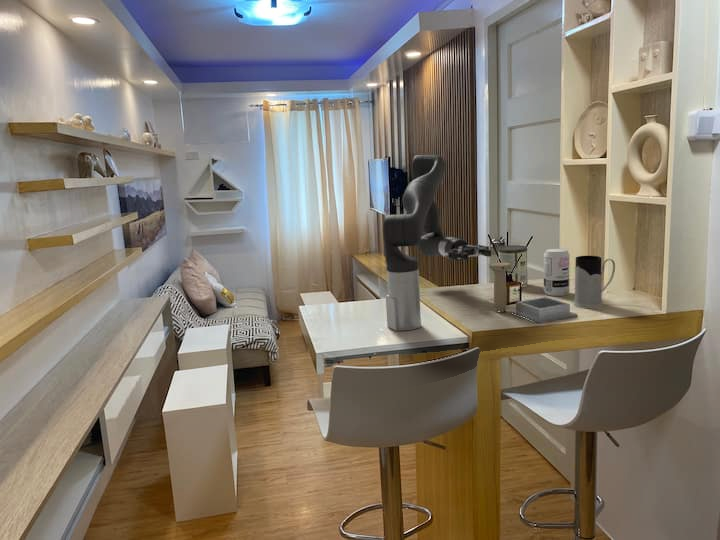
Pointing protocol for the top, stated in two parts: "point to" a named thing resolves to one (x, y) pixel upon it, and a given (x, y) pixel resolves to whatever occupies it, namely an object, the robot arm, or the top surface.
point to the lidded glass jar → (511, 256)
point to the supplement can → (556, 272)
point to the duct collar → (543, 310)
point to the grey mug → (589, 281)
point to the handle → (500, 285)
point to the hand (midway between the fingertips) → (478, 255)
